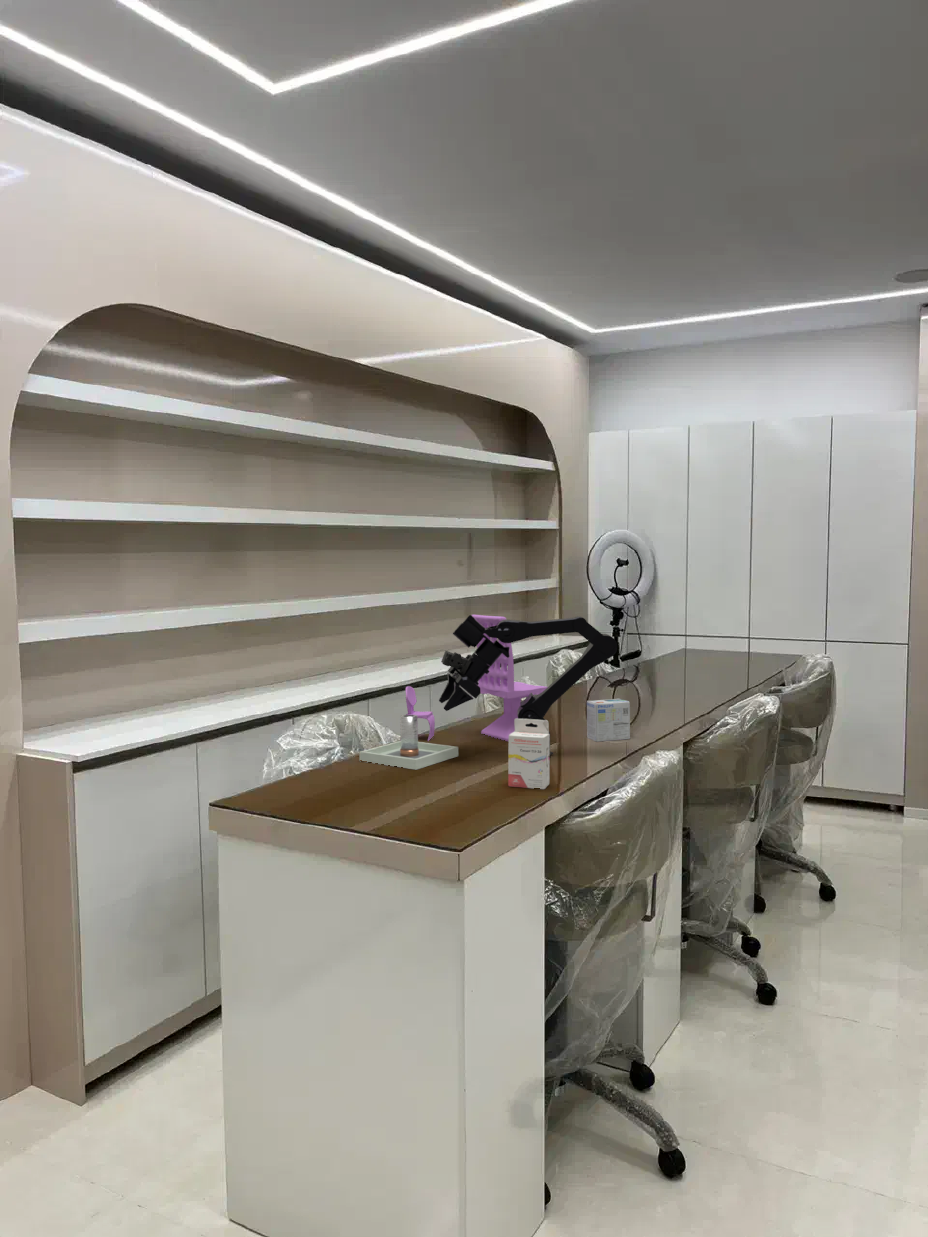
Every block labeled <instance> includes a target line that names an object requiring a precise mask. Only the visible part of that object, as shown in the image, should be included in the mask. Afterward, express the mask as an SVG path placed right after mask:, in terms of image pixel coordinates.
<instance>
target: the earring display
mask: <svg viewBox="0 0 928 1237" xmlns="http://www.w3.org/2000/svg"><path fill="white" fill-rule="evenodd" d="M471 615H472V616H473V617H474V618H475V620H476V621H477V622H479V623H480V624H481V625H482V626H483V627H484V628H487V627H492V626H496V625H498V623H499V622H500V621H502V620H506V619H507V617H505V616H500V615H499V616H498V615H497V616H496V615H495V616H494V615H482V614H471ZM483 635H485V636H486V637H487V638H488V639H489V640H490V641H492V642H493V643H494V642H495V641H496V640H497V641H498V642H499V643H500V644H502V645H503V646H504V647H509V658H507V657H506V656H505V655H504V654H501V656H500V657H499V658H498V659H497V660H496V661H495V662H494V664H493V665H492V666H490V668H489V669H488V670H489V673H488V674H486V673H485V674H484V675H483V676H482V678H481V679H480V680H479V681H478V683H479V684H478V686H479V687H480V692H481V693H480V694H479V695H491V696H495V697H499V698H502V699H503V714H502V715H500V716H499V717H497V718H496V719H495V720H494V721H492V722H491V723H490V724H488V725H487V726H486V727H485V728H483V729H481V730H480V733H481V734H485V735H488V736H487V737H489V736H491V737H490V738H493V737H494V739H497V738H498V740H500V739H501V740H500V741H504V740H505V742H508V743H509V735H510V734H511V733H513V732H515V725H514V720H515V719H516V718H518V715H517V712H518V708H519V707H520V702H522V699H524V698H527V697H528V696H529V694H530V693H532V694H533V695H534V696H536V695H538V694H540V693H542V692H543V691H544V690H545V689H546V688H547V687H548V686H545V685H544V686H543V685H535V684H529V683H526V682H521V681H515V667H514V666H515V664H514V663H515V662H514V655H513V647H512V643H503V642H501V641H500V640H499V639H498V638H492V637H489V636H488V635H487V634H485V633H484V634H483ZM484 640H485V638H484V637H483V639H482V640H481V641H480V642H479V643H478V645H477V646H476V649H477V648H478V647H479V646H480V645H481V644H482V642H483V641H484ZM485 735H484V736H485Z"/></svg>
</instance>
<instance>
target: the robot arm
mask: <svg viewBox="0 0 928 1237" xmlns="http://www.w3.org/2000/svg"><path fill="white" fill-rule="evenodd" d="M472 615H473V614H468V616H467V617H466V618H465V619H464V621H463V622H460V624H459V625H458V627H457V628H456V629H455V630H454V631H453V632H452V635H453V636H454V637H456V638H457V640H459V641H460V642H461V643H462V644H464V645H465V646H466V647H467V648H470V647H472V648H476V650H474V652H473V653H472V654H467V655H466V656H465V657H464V656H462V655H461V653H457V651H456V652H455V651H454V652H451V651H448V650H445V651H444V654H443V656H442V659H441V663H442V665H444V666H445V667H449V668H448V669H447V684H445V688H444V690H443V692H442V694H441V695H440V697H439V699H438V702H439V703H441V704H443V703H445V702H446V703H445V705H444V706H443V709H444V710H445V712H447V711H450V710H451V709H455V708H456V707H458V706H460V705H462V704H464V703H467V702H469V701H471V700H474V699H477V697H479V696H480V695H481V694H480V693H481V692H480V687H479V686H478V684H479V680H480V679H481V678H482V676H483V675H484V674H485V673H486V674H488V673H489V670H488V669H489V668H490V666H492V665H493V664H494V662H495V661H496V660H497V659H498V658H499V657H500V656H501V654H504V655H505V656H506V657H507V658H509V647H504V646H503V645H502V644H500V643H499V642H498V639H499V640H500V641H501V642H503V643H511V644H512V643H515V642H518V641H523V640H525V639H528V638H532V637H537V636H538V637H539V636H550V635H559V634H560V635H561V634H562V635H563V634H572V633H577V634H579V635H580V636H581V637H583V638H584V639H586V641H588V642H589V644H588V645H587V646H586V648H585V650H584V652H583V653H582V654H581V656H580V657H579V658H578V659H577V660H575V661H574V663H572V664H571V665H570V666H569V667H568V668H567V669H565V671H564V672H563V673H561V674H560V675H559V676H558V677H557V678H556V679H555V680H554V681H553V682H552V683H551V684H549V686H546V687H547V688H546V689H545V690H544V691H543V692H542V693H540V694H538V695H533V694H532V693H530V694H529V696H528V697H525V699H524V700H521V702H520V707H519V708H518V712H517V715H518V719H536V720H546V718H544V717H545V716H546V714H547V713H548V711H549V710H550V708H551V707H552V705H553V704H554V703H555V702H557V700H558V699H560V698H561V697H562V696H563V695H564V694H565V693H566V692H567V691H568V690H570V689H571V688H572V687H573V686H574V685H575V684H576V683H577V682H578V681H579V680H581V679H582V677H584V676H585V675H586V674H588V672H589V671H591V669H593V668H595V667H597V666H598V665H600V664H602V663H605V661H608V660H609V659H611V658H612V657H613V656H614V655H615V654H616V653H617V651H618V642H617V641H616V639H615V638H614V637H613V636H611V635H609V634H607V633H601V632H600V631H599V630H598V629H596V628H595V627H594V626H593V625H592V624H590V622H588V621H587V619H586V618H584V617H583V616H580V615H579V616H578V615H577V616H573V617H566V618H557V619H556V618H555V619H547V620H536V621H528V620H527V621H526V620H521V619H519V620H517V619H507V618H506V620H502V621H500V622H499V623H498V625H496V626H492V627H487V628H484V627H483V626H482V625H481V624H480V623H479V622H477V621H476V620H475V618H474V617H473V616H472ZM484 633H485V634H487V635H488V636H489V637H492V638H497V640H496V641H495V642H494V643H493V642H492V641H490V640H489V639H488V638H487V637H486V636H485V635H483V634H484ZM483 637H484V638H485V640H484V641H483V642H482V644H481V645H480V646H479V647H478V648H477V645H478V643H479V642H480V641H481V640H482V639H483ZM494 665H495V664H494ZM525 726H526V727H537V725H536V724H533V723H530V724H526V725H525ZM549 734H550V735H551V731H549ZM549 743H550V745H549V749H550V750H549V753H550V754H549V757H550V756H552V755H554V752H552V751H551V739H550V740H549Z"/></svg>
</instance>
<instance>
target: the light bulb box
mask: <svg viewBox="0 0 928 1237" xmlns="http://www.w3.org/2000/svg"><path fill="white" fill-rule="evenodd" d="M630 705H631V702H630V701H629V700H626V699H621V698H612V699H598V700H586V732H587V735H586V736H587V737H586V738H587V739H589V740H591V741H594V742H596V743H599V742H609V741H620V740H621V741H622V740H630V739H631V706H630Z"/></svg>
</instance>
